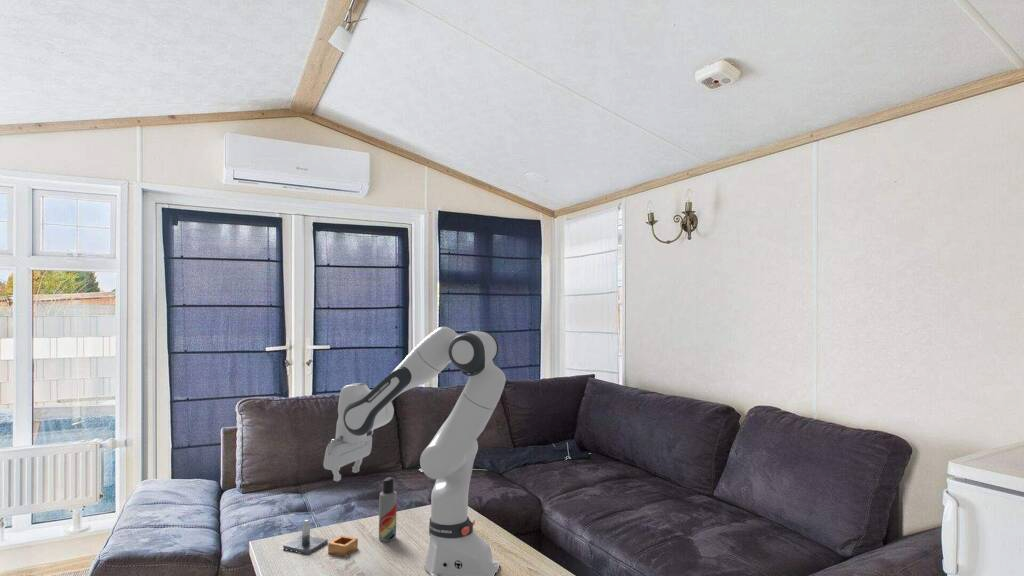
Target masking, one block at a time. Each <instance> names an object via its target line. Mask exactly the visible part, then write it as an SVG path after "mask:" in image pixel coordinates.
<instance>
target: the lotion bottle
mask: <svg viewBox="0 0 1024 576" xmlns="http://www.w3.org/2000/svg"><path fill="white" fill-rule="evenodd" d="M397 492H398V491H395V478H394V477H386V478H384V479H382V491H380V493H379V499H378V500H379V505H378V507H379V508H378V510H379V511H378V512H379V513H378V540H379V541H380V542H391V541H394V540H396V537H397V512H398V511H397V506H398V505H397V504H398V503H397V501H398V500H397V499H398V494H397Z"/></svg>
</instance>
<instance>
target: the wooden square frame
mask: <svg viewBox="0 0 1024 576" xmlns="http://www.w3.org/2000/svg"><path fill="white" fill-rule="evenodd" d="M358 540H359V539H358V537H351V536H347V535H340V536H338V537H336V538H334V539H333V540H331V541H330V542H328V543H327V545H328V546H327V549H328V550H327V553H328V554H332V555H336V556H342V557H346V556H348V555H349V554H351V553H353V552H354V551H355V550H357V549H358V547H359V546H358V545H359V543H358V542H359V541H358Z"/></svg>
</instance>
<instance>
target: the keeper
mask: <svg viewBox="0 0 1024 576" xmlns="http://www.w3.org/2000/svg"><path fill="white" fill-rule="evenodd" d="M301 526H302V527H301V528H302V529H301V535H299V537H296V538H295V539H293V540H291V541H289V542H287V543H285V544H284V545H283V546H282V548H284V549H288V550H292V551H291V552H293V551H297V552H296V553H298V552H300V553H299V554H303V553H304V555H307V554H308V555H311V554H312V553H314V552H316V551H317V550H319V549H320V548H322V547H325V546H326V545H328V543H329V542H328V539H326V538H321V537H318V536H317V537H316V536H311V521H310V520H309V519H305V520H303V522H302V524H301ZM288 550H287V551H288ZM310 553H311V554H310Z"/></svg>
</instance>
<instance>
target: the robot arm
mask: <svg viewBox="0 0 1024 576" xmlns="http://www.w3.org/2000/svg"><path fill="white" fill-rule="evenodd" d="M499 351H500V343H499V341H498V339H497V338H496V336H495V335H493V334H492V333H491V332H488V331H485V330H472V331H467V332H463V333H461V334H459V333H457V332H456V331H455V330H454V329H452V328H451V327H449V326H440V327H437V328H435V330H433V331H432V332H430V333H429V334H428V335H426V336H424V338H423V339H422V340H421V341H420V342H419V343H418V344H416V345H415V347H413V349H412V350H411V351H410V352H409V353H408V354H407V355H406V356H405V358H404V359H403V360H402V361H401V362H400V363H399V364H398V365H397V366H396V367H395V368H394V369H393V370H392V372H390V373H389V374H388V375H387V376H385V378H383V380H382V381H380V382H379V384H377V385H376V386H374V388H373V389H370V388H369V386H368V385H367V384H365V383H364V382H355V383H350V384H346V385H344V386H343V387H341V390H340V392H339V397H338V404H337V414H338V417H337V421H336V429H335V438H332V439H330V441H329V443H328V444H327V445H326V449H325V452H324V458H323V463H322V465H323V469H325V470H328V471H331V472H332V474H333V481H334V482H339V481H341V480H342V474H340V472H339V471H341V468H343V467H344V466H347V465H349V464H352V463H354V464H353V466H352V470H351V473H355V474H356V473H359V472H360V467H361V465H362V463H363V459H364V458H366V457H368V456H369V455H370V454H371V452H372V447H373V445H372V444H373V436H372V435H373V434H374V430H376V429H378V428H381V427H383V426H385V425H387V424H388V423H390V422H391V421H392V420H393V418H394V415H395V409H394V408H395V407H394V405H393V402H392V401H394V400H395V399H396V398H397V397H398V396H399V395H401V394H402V393H404V392H407V391H409V390H411V389H414V388H416V387H419V386H421V385H425V384H426V383H428V382H430V381H431V380H432V379H434V378H436V377H437V376H438V375H439V374H440V373H441V372H442V371H444V369H445V368H447V366H448V365H449V364H451V363H452V364H453V365H454V366H455V367H457V368H458V369H459V370H460V371H461V372H462V374H463V375H464V376H466V377H468V378H467V381H466V384H465V386H464V387H463V390H462V392H461V394H460V395H459V397H458V399H457V401H456V403H455V405H454V407H453V408H452V410H451V412H450V413H449V415H448V417H447V418H446V420H445V421H444V422H443V423H442V425H441V426H440V428H439V429H438V431H437V432H436V434H434V436H433V438H432V439H431V440H430V442H429V444H428V445H427V446H426V447H425V448H424V450H423V451H422V452H421V455H420V458H419V465H420V468H421V471H422V472H423V473H424V475H425V476H426V477H428V478H429V479H432V480H435V482H434V486H433V488H432V491H431V494H430V495H431V499H430V501H431V503H430V507H431V508H430V517H429V523H428V524H429V525H428V527H429V528H428V529H429V530H428V533H429V542H428V551H427V555H426V560H425V563H424V569H425V571H426V572H427V573H428V574H429V576H493V575H495V573H496V572H497V571H498V569H499V570H500V568H499V565H500V561H499V560H498V559H495V558H493V554H492V553H493V552H492V548H491V545H490V544H489V543H488V542H486V541H485V540H484V538H482V537H481V536H480V535H479V534H478V533H477V532H475V530H474V525H476V520H475V519H474V520H473V521H472V520H471V519H470V517H469V516H468V513H469V512H468V506H469V490H470V483H471V478H472V472H473V468H474V462H475V459H476V455H477V453H478V450H479V444H478V440H477V439H478V438H479V436H480V435H481V434H482V433H483V432H484V430H485V428H486V426H487V425H488V422H489V420H490V419H491V417H492V415H493V413H494V411H495V409H496V408H497V405H498V403H499V401H500V399H501V396H502V394H503V391H504V387H505V385H506V382H507V381H506V379H507V378H506V374H505V373H504V371H503V370H502V369H501V368H499V366H497V365H495V364H494V360H495V359H496V358H497V357H498V354H499ZM495 565H497V566H495ZM498 572H499V571H498ZM498 572H497V573H498ZM495 576H496V575H495Z"/></svg>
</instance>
